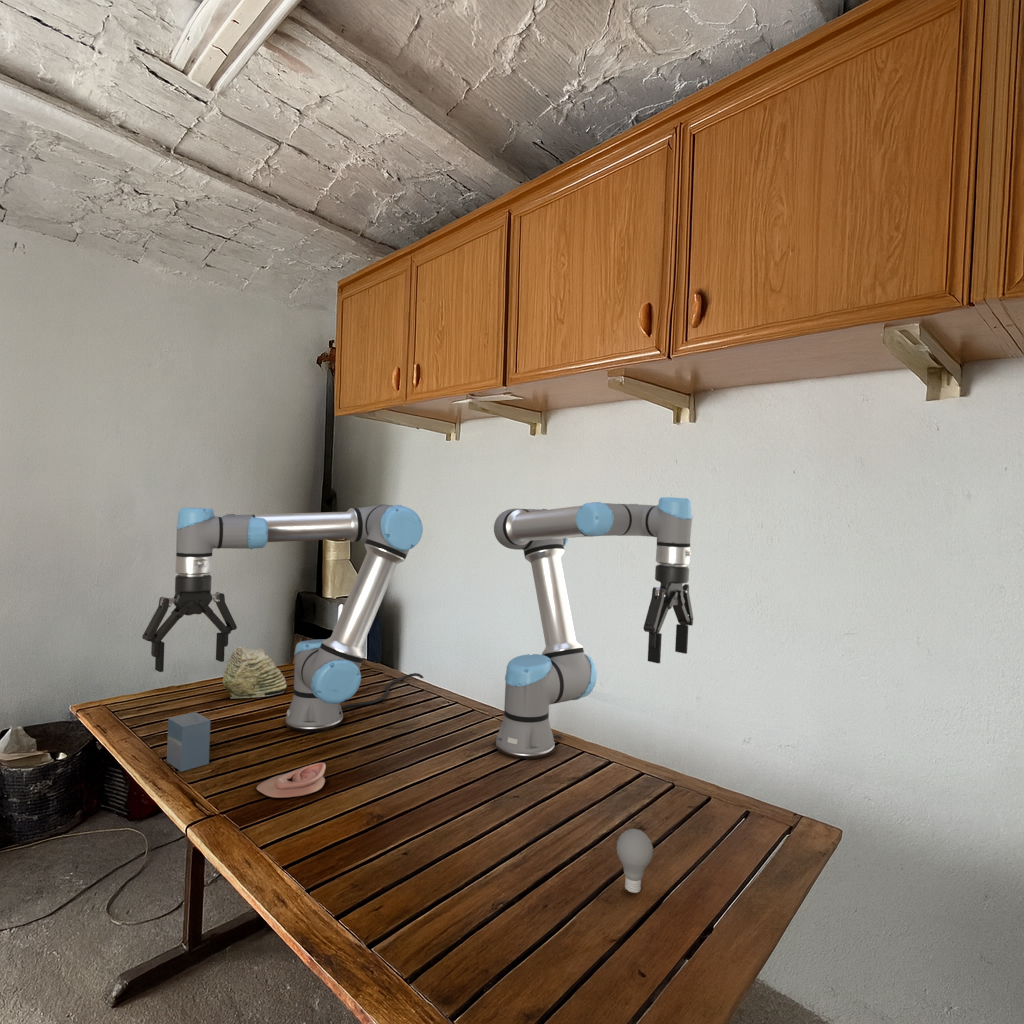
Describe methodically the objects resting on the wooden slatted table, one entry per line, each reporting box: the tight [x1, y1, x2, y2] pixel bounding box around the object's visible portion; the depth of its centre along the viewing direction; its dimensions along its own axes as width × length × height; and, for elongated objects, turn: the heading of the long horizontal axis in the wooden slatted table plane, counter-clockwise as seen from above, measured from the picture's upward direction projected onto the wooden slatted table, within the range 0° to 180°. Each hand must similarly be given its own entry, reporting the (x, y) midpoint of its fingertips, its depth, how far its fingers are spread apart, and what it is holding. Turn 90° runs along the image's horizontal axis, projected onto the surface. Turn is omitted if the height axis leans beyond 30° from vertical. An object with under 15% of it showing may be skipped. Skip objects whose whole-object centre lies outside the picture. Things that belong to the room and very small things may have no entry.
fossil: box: [222, 646, 288, 699], centre depth 198 cm, size 9×18×15 cm, turn 132°
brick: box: [166, 711, 212, 773], centre depth 147 cm, size 6×8×10 cm
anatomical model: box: [256, 762, 327, 799], centre depth 137 cm, size 13×4×12 cm
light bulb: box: [615, 828, 654, 894], centre depth 106 cm, size 6×6×10 cm
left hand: (190, 665), depth 147 cm, fingers open, 13 cm apart
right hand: (667, 657), depth 145 cm, fingers open, 13 cm apart
